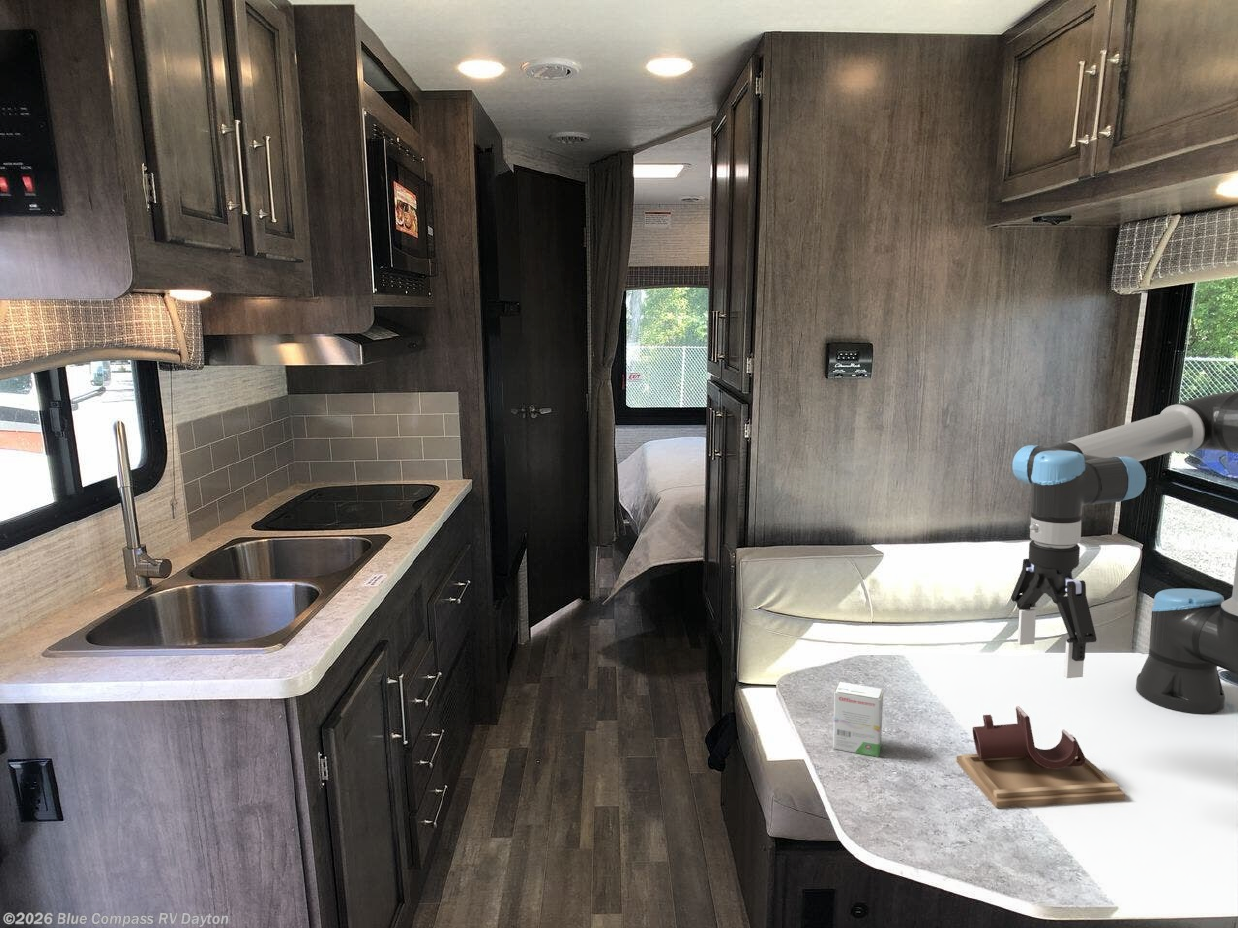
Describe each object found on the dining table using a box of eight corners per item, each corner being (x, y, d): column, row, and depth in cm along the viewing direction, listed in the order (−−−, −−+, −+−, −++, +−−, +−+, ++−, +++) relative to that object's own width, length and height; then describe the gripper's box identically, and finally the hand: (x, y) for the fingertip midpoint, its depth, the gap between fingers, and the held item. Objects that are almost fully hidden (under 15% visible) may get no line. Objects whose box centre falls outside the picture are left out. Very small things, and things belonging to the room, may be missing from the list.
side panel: (1072, 754, 144) (1073, 744, 143) (1124, 800, 130) (1125, 789, 130) (956, 761, 143) (956, 751, 142) (996, 808, 129) (996, 797, 129)
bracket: (1091, 770, 133) (1080, 711, 133) (985, 776, 137) (975, 719, 137) (1079, 758, 139) (1069, 701, 139) (978, 764, 143) (968, 710, 143)
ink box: (832, 749, 149) (833, 691, 147) (836, 735, 153) (837, 680, 151) (879, 758, 145) (880, 699, 143) (882, 744, 150) (884, 687, 148)
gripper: (993, 525, 144) (989, 632, 148) (1080, 566, 119) (1073, 694, 123) (1032, 522, 144) (1028, 630, 148) (1127, 562, 120) (1118, 690, 123)
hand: (1048, 659), depth 136 cm, fingers open, 13 cm apart
